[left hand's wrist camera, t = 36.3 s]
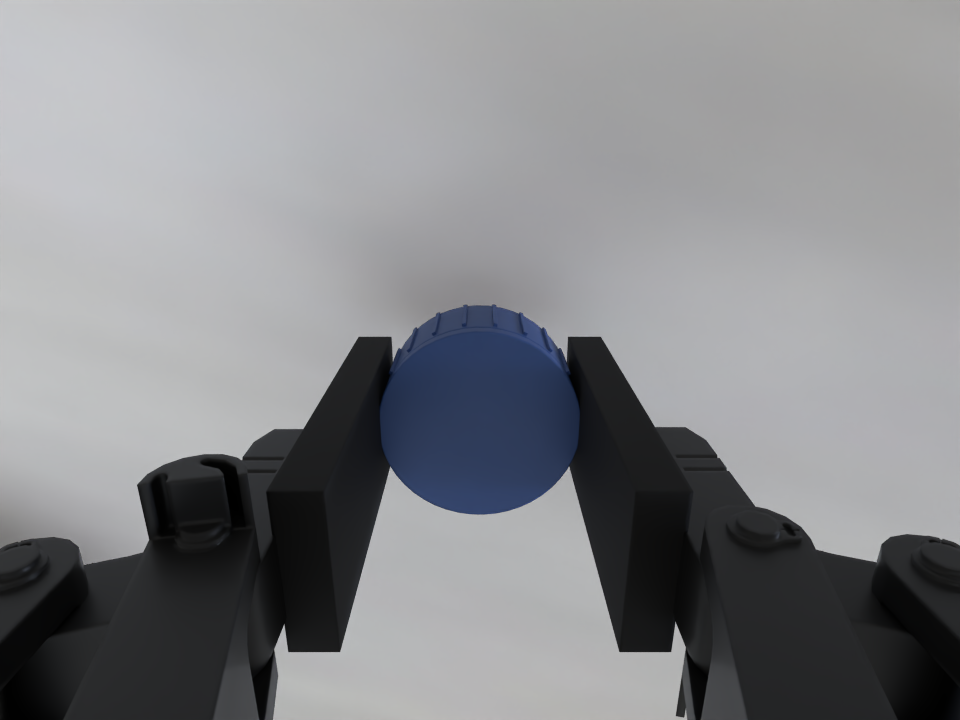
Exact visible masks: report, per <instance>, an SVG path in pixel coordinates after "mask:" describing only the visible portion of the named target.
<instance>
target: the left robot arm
mask: <svg viewBox="0 0 960 720" xmlns="http://www.w3.org/2000/svg"><path fill="white" fill-rule="evenodd" d="M392 363H393V357H392V338H391V337H358V339H357V341H356V342H355V344H354V346H353V347H352V349H351V351H350V352H349V354H348V356H347V357H346V359H345V361H344V362H343V364H342V366H341V367H340V369H339V371H338V372H337V374H336V376H335V377H334V379H333V381H332V382H331V384H330V386H329V387H328V389H327V391H326V392H325V394H324V396H323V397H322V399H321V401H320V402H319V404H318V406H317V407H316V409H315V411H314V412H313V414H312V416H311V417H310V419H309V421H308V422H307V424H306V426H305V427H304V429H274V430H272V431H271V432H269V433H268V434H266V435H265V436H263V437H261V438H260V439H258V440H257V441H255V442H254V443H253V444H252V445H251V447H250V448H249V449H248V451H247V452H246V454H245V455H244V456H243V460H240V459H239V458H236V457H232V456H228V455H224V454H204V455H198V456H192V457H187V458H182V459H179V460H176V461H174V462H171V463H168V464H165V465H163V466H161V467H159V468H157V469H156V470H154V471H152V472H150V473H149V474H147V475H146V476H145V477H144V478H143V479H142V480H141V481H140V482H139V483H138V485H137V487H138V491H139V496H140V500H141V504H142V509H143V513H144V518H145V522H146V527H147V531H148V536H149V542H148V544H147V546H146V548H145V550H144V552H143V553H140V554H136V555H132V556H128V557H123V558H118V559H113V560H108V561H103V562H98V563H92V564H87V565H83V562H82V558H81V554H80V551H79V547H78V546H77V545H75V544H74V543H73V542H72V541H70V540H67V539H62V538H56V537H49V538H39V539H29V540H24V541H21V542H19V543H18V542H16V543H12V544H9V545H6V546H4V547H2V548H1V549H0V720H273V714H274V705H275V697H276V689H277V680H278V672H277V665H276V658H275V652H274V648H275V646H276V643H277V641H278V638H279V636H280V633H281V631H282V628H283V626H284V624H285V631H286V638H287V645H288V652H340V650H341V647H342V643H343V639H344V636H345V632H346V628H347V624H348V621H349V617H350V613H351V610H352V606H353V602H354V599H355V595H356V591H357V587H358V584H359V580H360V576H361V573H362V569H363V565H364V562H365V558H366V554H367V550H368V547H369V543H370V539H371V536H372V532H373V528H374V525H375V521H376V517H377V513H378V510H379V506H380V502H381V499H382V495H383V491H384V488H385V484H386V480H387V476H388V473H389V469H390V465H389V463H388V461H387V459H386V457H385V455H384V452H383V449H382V442H381V427H380V403H381V400H382V396H383V393H384V391H385V388H386V385H387V383H388V380H389V377H390V374H389V371H390V369H391V366H392ZM567 365H568V368H569V370H570V373H571V374H570V375H569V376H570V379H571V382H572V385H573V387H574V390H575V393H576V396H577V398H578V402H579V407H580V420H579V437H578V447H577V450H576V453H575V455H574V458H573V460H572V462H571V463H570V465H569V467H570V470H571V474H572V478H573V482H574V485H575V489H576V493H577V496H578V500H579V504H580V507H581V511H582V515H583V519H584V522H585V526H586V530H587V533H588V537H589V541H590V545H591V548H592V552H593V556H594V559H595V563H596V567H597V570H598V574H599V578H600V582H601V585H602V589H603V593H604V596H605V600H606V604H607V607H608V611H609V615H610V619H611V622H612V626H613V630H614V633H615V637H616V641H617V644H618V648H619V652H671V649H672V642H673V635H674V628H675V621H676V624H677V626H678V629H679V631H680V634H681V636H682V639H683V641H684V643H685V646H686V652H685V658H684V665H683V672H682V678H681V685H680V691H679V698H678V705H677V712H676V716H678V717H684V715H685V710H686V712H687V720H960V546H959V545H958V544H956V543H954V542H951V541H948V540H945V539H942V540H941V539H940V538H936V537H931V536H920V535H909V534H905V535H900V536H894V537H890V538H889V539H888V540H886V541H885V542H884V543H883V544H882V545H881V549H880V552H879V556H878V560H877V563H876V562H871V561H866V560H861V559H856V558H851V557H846V556H841V555H836V554H831V553H827V552H823V551H819V550H816V549H815V547H814V545H813V543H812V541H811V539H810V537H809V536H808V535H807V534H806V533H805V531H804V530H803V529H802V528H801V527H800V526H799V525H797V524H796V523H794V522H793V521H791V520H790V519H788V518H787V517H785V516H783V515H780V514H778V513H775V512H773V511H770V510H768V509H764V508H759V507H755V505H754V504H753V503H752V501H751V500H750V499H749V497H748V496H747V495H746V493H745V492H744V491H743V489H742V488H741V487H740V485H739V484H738V483H737V481H736V480H735V478H734V477H733V476H732V474H731V473H730V472H729V471H727V470H726V469H727V468H726V466H725V465H724V464H723V462H722V461H721V460H720V458H717V454H716V453H715V452H714V450H713V449H712V448H711V446H710V445H709V443H708V442H707V441H706V440H705V439H703V438H702V437H700V436H699V435H697V434H695V433H694V432H692V431H691V430H689V429H687V428H686V427H655V426H654V425H653V423H652V421H651V420H650V418H649V416H648V415H647V413H646V411H645V410H644V408H643V406H642V405H641V403H640V401H639V400H638V398H637V396H636V395H635V393H634V391H633V390H632V388H631V386H630V385H629V383H628V381H627V380H626V378H625V376H624V375H623V373H622V371H621V370H620V368H619V366H618V365H617V363H616V361H615V360H614V358H613V356H612V355H611V353H610V351H609V350H608V348H607V346H606V345H605V343H604V341H603V340H602V338H601V337H568V350H567Z"/></svg>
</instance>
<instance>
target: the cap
mask: <svg viewBox="0 0 960 720" xmlns="http://www.w3.org/2000/svg"><path fill="white" fill-rule="evenodd" d="M389 374H390V377H389V380H388V383H387V385H386V388H385V391H384V393H383V396H382V400H381V403H380V427H381V442H382V449H383V452H384V455H385V457H386V459H387V461H388V463H389V465H390V466H391V468H392V469H393V471H394V472H395V474H396V475H397V476H398V478H399V479H400V480H401V481H402V482H403V483H404V484H405V485H406V486H407V487H408V488H409V489H410V490H411V491H413V492H414V493H415V494H417V495H418V496H420V497H421V498H423V499H424V500H426V501H428V502H430V503H432V504H434V505H436V506H439V507H441V508H444V509H447V510H451V511H455V512H459V513H466V514H494V513H500V512H505V511H509V510H512V509H515V508H518V507H521V506H523V505H525V504H528V503H530V502H532V501H533V500H535V499H537V498H538V497H540V496H542V495H543V494H544V493H545V492H547V491H548V490H549V489H550V488H552V487H553V486H554V484H555V483H556V482H557V481H558V480H559V479H560V478H561V477H562V475H563V474H564V473H565V471H566V470H567V469H568V467H569V465H570V463H571V462H572V460H573V458H574V455H575V453H576V450H577V447H578V437H579V420H580V407H579V402H578V398H577V396H576V393H575V390H574V387H573V385H572V382H571V379H570V376H569V375H570V374H571V373H570V370H569V368H568V365H567V362H566V360H565V357H564V355H563V352H562V350H561V348H559V349H558V348H557V346H556V345H555V343H554V342H553V341H552V339H551V338H550V337H549V336H548V335H547V332H546V329H545V328H544V327H543V328H542V329H541V328H540V327H539V326H538V325H536V324H535V323H534V322H532V321H531V320H529V319H528V318H526V317H524V316H523V313H519V314H518V313H515V312H513V311H510V310H507V309H503V308H499V307H496V305H492V306H477V305H476V306H467V305H463V307H461V308H456V309H452V310H449V311H447V312H444V313H441V314H440V312H439V313H437V314H436V316H435V317H434V318H432V319H430V320H429V321H427V322H426V323H424V324H423V325H422V326H420V327H419V328H418V329H417V328H415V329H414V330H413V333H412V335H411V336H410V337H409V339H408V340H407V341H406V342H405V344H404V345H403V347H402V349H400V348H399V349H398V351H397V353H396V356H395V358H394V361H393V363H392V366H391V369H390V371H389Z"/></svg>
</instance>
